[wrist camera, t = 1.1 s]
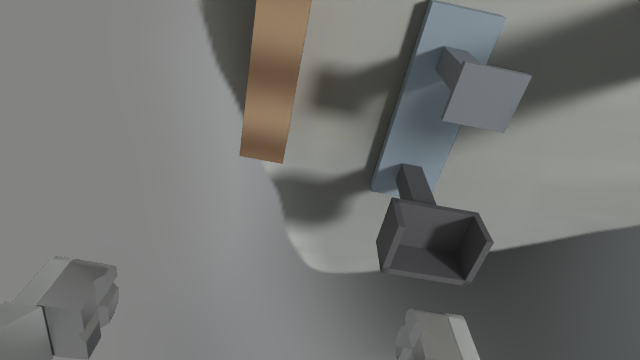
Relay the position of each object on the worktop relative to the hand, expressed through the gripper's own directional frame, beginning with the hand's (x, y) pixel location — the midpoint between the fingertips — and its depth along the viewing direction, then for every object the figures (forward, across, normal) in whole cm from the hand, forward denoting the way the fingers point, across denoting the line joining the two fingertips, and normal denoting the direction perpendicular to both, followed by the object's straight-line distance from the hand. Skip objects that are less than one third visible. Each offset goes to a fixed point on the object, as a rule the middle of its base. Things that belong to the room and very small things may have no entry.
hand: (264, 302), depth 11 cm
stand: (+27, -12, +3) cm, 30 cm away
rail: (+28, +2, 0) cm, 28 cm away
